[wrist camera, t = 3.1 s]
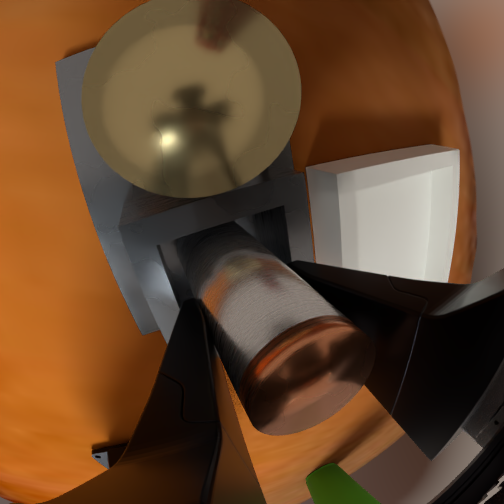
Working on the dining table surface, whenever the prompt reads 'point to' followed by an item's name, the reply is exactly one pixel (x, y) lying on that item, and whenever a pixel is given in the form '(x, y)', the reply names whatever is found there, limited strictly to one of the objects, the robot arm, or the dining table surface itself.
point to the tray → (387, 211)
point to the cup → (336, 487)
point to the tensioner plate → (173, 217)
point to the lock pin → (273, 331)
